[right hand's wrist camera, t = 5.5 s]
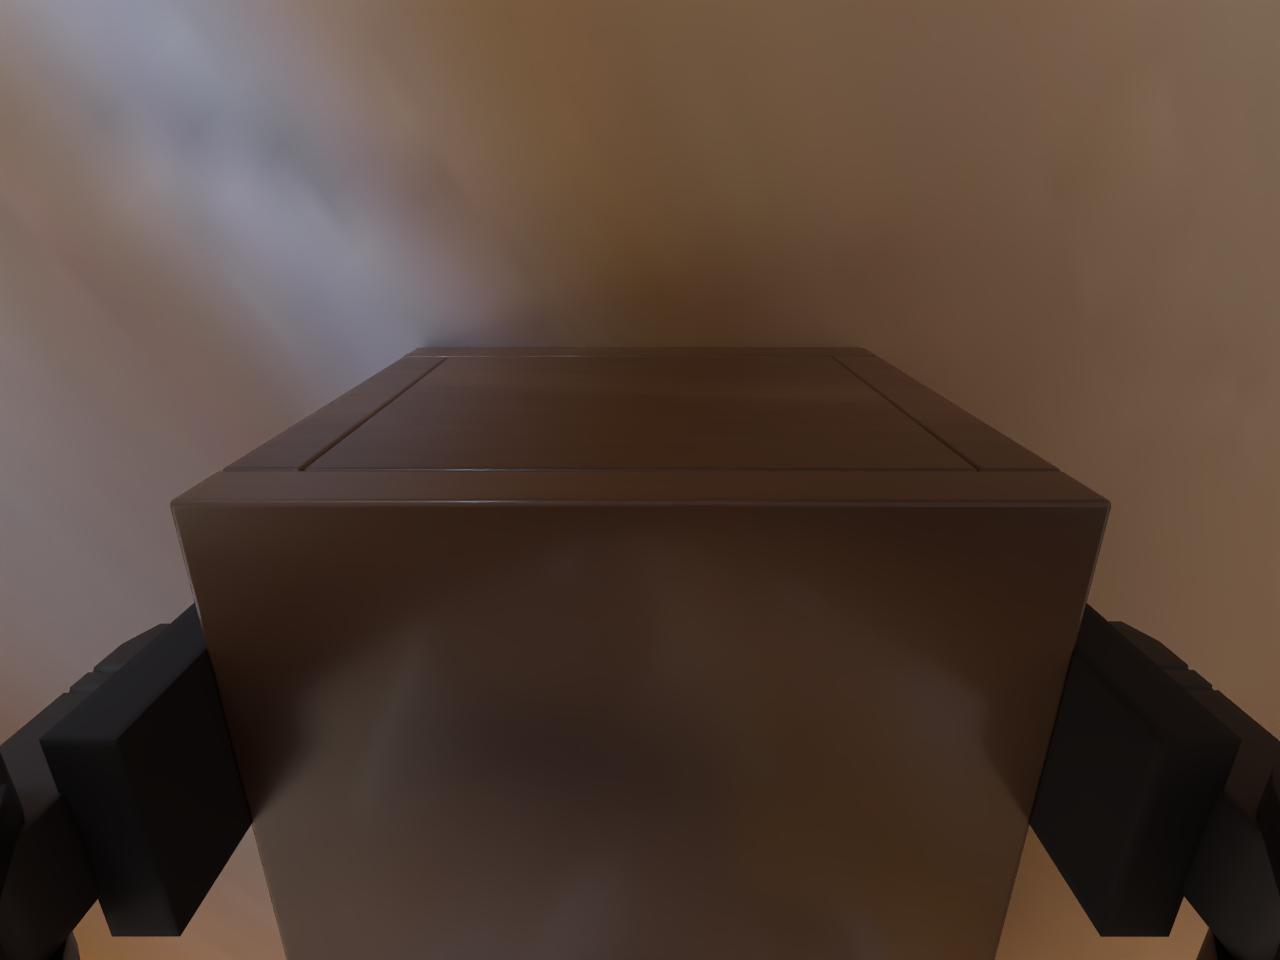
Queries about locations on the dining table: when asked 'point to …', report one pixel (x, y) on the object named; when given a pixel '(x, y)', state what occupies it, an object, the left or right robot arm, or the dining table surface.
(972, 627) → the cabinet
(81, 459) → the dining table surface
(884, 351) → the dining table surface
